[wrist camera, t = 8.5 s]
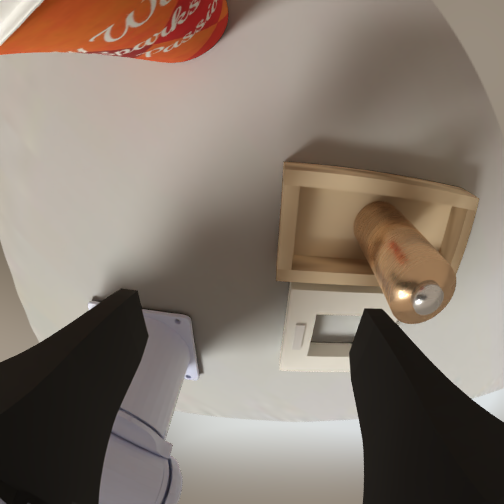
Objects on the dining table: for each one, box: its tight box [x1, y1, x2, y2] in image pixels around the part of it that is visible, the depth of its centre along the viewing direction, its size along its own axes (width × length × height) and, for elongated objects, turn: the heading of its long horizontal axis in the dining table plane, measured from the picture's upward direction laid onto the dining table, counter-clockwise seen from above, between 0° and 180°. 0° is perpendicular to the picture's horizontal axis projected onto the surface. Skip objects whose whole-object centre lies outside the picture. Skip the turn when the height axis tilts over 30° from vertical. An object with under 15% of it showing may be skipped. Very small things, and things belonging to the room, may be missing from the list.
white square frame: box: [279, 282, 398, 372], centre depth 20 cm, size 8×8×2 cm
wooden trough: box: [276, 162, 479, 287], centre depth 16 cm, size 12×6×2 cm, turn 88°
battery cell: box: [353, 201, 456, 324], centre depth 13 cm, size 3×3×8 cm
